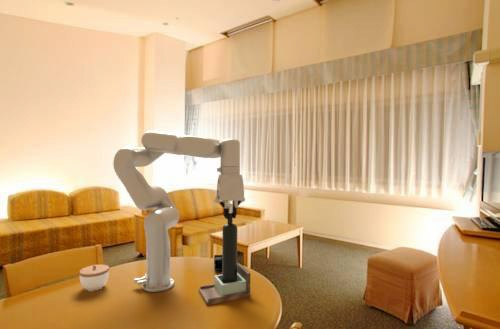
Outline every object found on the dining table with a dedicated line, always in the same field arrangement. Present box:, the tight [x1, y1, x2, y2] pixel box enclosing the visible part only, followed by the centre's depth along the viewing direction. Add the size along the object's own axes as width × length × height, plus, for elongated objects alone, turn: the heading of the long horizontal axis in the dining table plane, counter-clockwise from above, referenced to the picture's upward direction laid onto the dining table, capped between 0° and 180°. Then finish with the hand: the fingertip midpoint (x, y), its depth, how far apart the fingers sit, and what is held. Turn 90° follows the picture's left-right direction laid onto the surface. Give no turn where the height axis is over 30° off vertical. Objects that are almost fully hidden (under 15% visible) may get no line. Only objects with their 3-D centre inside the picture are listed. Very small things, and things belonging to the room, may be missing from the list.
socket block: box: [213, 272, 246, 296], centre depth 114 cm, size 10×10×4 cm
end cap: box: [213, 254, 222, 273], centre depth 139 cm, size 10×7×7 cm
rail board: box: [198, 262, 251, 306], centre depth 113 cm, size 17×12×9 cm
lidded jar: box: [79, 264, 110, 292], centre depth 118 cm, size 11×11×9 cm
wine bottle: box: [221, 203, 238, 283], centre depth 114 cm, size 6×6×30 cm
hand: (230, 217), depth 114 cm, fingers closed on wine bottle
